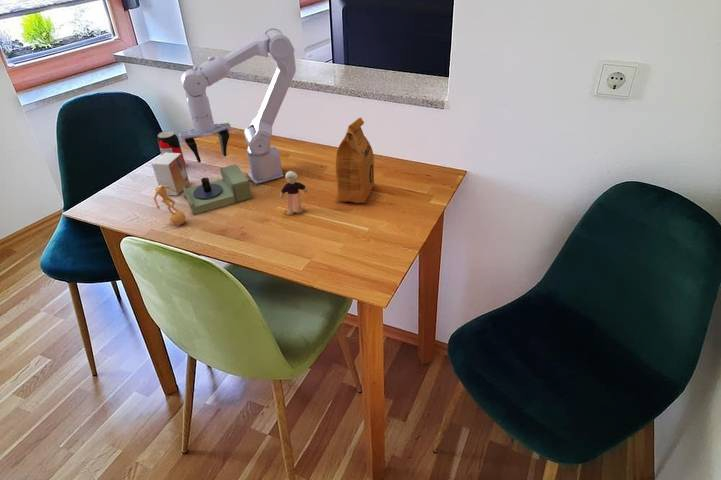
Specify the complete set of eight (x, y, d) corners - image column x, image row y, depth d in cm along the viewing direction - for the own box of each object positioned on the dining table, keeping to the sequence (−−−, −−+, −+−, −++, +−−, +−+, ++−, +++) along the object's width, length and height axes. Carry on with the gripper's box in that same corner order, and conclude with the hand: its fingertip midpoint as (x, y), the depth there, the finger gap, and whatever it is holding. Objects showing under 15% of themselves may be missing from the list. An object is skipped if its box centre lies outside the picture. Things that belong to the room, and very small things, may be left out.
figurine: (176, 233, 129) (163, 195, 121) (157, 230, 130) (144, 191, 123) (194, 217, 135) (183, 179, 128) (176, 214, 137) (164, 176, 129)
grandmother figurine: (286, 218, 132) (279, 178, 125) (281, 212, 135) (274, 172, 128) (311, 210, 135) (307, 170, 128) (306, 204, 138) (301, 165, 131)
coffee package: (380, 186, 145) (378, 117, 132) (365, 207, 135) (362, 135, 122) (349, 182, 148) (345, 113, 135) (333, 202, 138) (327, 130, 126)
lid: (218, 182, 146) (215, 169, 143) (226, 194, 140) (223, 181, 137) (190, 190, 142) (186, 177, 140) (197, 202, 136) (193, 189, 134)
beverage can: (189, 165, 161) (180, 132, 154) (174, 173, 157) (164, 139, 150) (177, 161, 164) (167, 128, 157) (162, 169, 159) (151, 135, 152)
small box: (177, 196, 145) (168, 165, 138) (161, 195, 146) (150, 163, 139) (190, 183, 151) (181, 152, 145) (174, 182, 152) (165, 151, 146)
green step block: (239, 181, 151) (236, 164, 147) (251, 198, 142) (248, 180, 139) (185, 196, 145) (180, 178, 141) (194, 214, 136) (189, 196, 132)
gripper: (178, 124, 130) (190, 169, 138) (230, 113, 135) (239, 157, 143) (173, 116, 135) (185, 160, 143) (223, 105, 140) (232, 148, 148)
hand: (211, 158), depth 144 cm, fingers open, 7 cm apart
